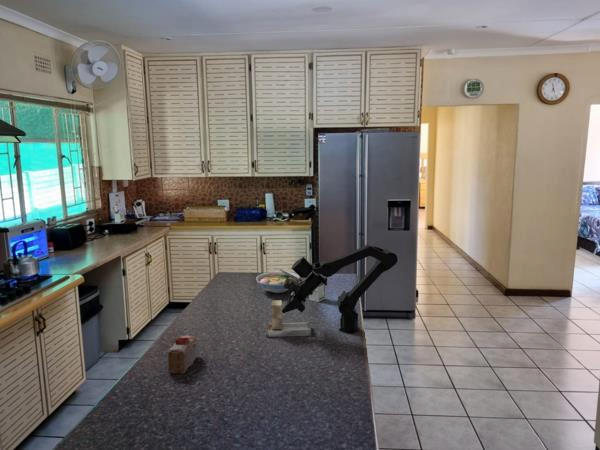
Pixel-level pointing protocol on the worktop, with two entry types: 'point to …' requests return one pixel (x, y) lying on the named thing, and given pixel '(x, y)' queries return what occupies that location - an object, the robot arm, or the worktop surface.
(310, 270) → the robot arm
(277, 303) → the lever
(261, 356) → the worktop surface
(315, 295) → the syrup box
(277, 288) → the ramen bowl
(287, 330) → the fader track
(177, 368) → the food item
